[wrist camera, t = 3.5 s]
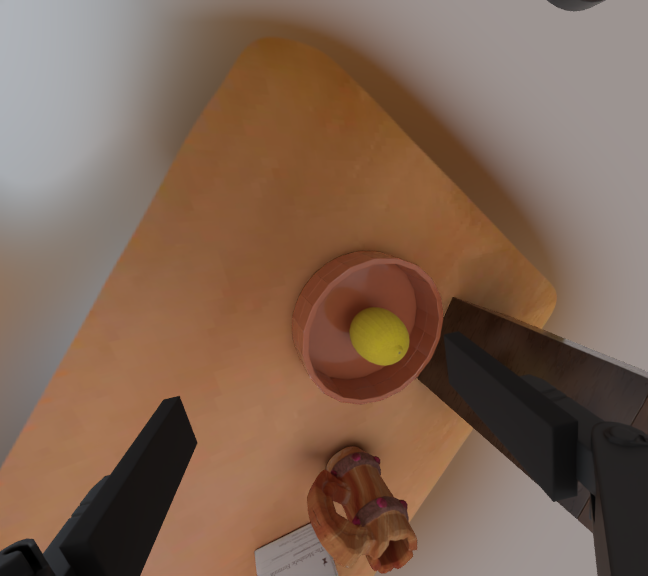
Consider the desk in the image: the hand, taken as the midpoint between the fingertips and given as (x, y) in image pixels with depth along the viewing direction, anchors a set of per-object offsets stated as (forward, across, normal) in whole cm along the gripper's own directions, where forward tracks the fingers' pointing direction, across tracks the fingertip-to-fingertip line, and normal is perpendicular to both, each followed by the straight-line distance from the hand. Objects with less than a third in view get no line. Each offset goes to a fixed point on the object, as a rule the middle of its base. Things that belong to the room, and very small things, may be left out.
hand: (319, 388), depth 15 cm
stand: (+25, +20, -14) cm, 35 cm away
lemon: (+20, +5, -5) cm, 21 cm away
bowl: (+20, +5, -5) cm, 21 cm away
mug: (+20, -2, -23) cm, 31 cm away
